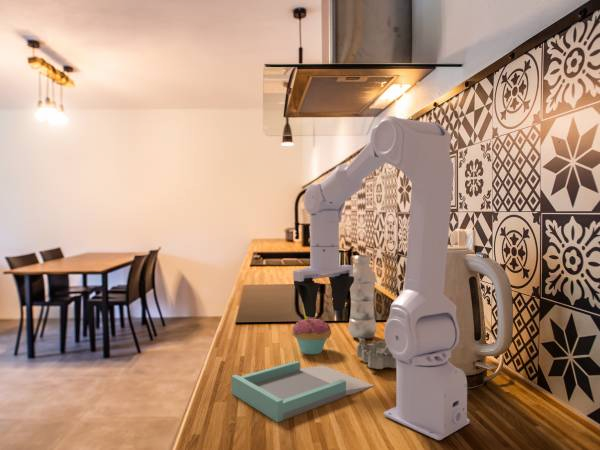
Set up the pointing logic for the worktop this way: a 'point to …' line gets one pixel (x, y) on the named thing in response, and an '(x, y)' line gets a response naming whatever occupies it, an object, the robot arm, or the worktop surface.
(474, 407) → the worktop surface
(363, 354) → the egg carton
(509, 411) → the worktop surface
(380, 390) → the worktop surface
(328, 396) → the dock
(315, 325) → the cupcake
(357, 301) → the plastic bottle
